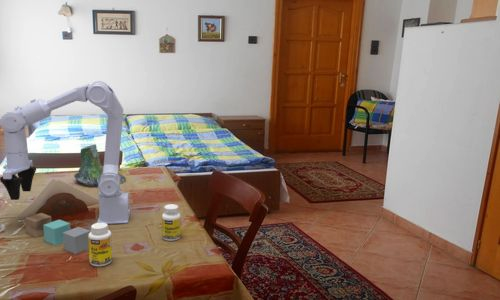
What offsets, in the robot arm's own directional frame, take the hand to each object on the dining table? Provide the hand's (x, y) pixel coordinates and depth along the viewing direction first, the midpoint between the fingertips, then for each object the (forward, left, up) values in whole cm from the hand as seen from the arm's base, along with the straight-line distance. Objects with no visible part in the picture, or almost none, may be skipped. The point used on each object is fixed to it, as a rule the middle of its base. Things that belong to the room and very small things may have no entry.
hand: (21, 195), depth 128 cm
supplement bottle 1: (-27, +27, -10) cm, 39 cm away
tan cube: (-6, +6, -10) cm, 13 cm away
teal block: (-13, +12, -10) cm, 20 cm away
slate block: (-19, +18, -10) cm, 28 cm away
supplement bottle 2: (-45, +14, -10) cm, 48 cm away
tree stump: (-16, -45, -10) cm, 49 cm away
